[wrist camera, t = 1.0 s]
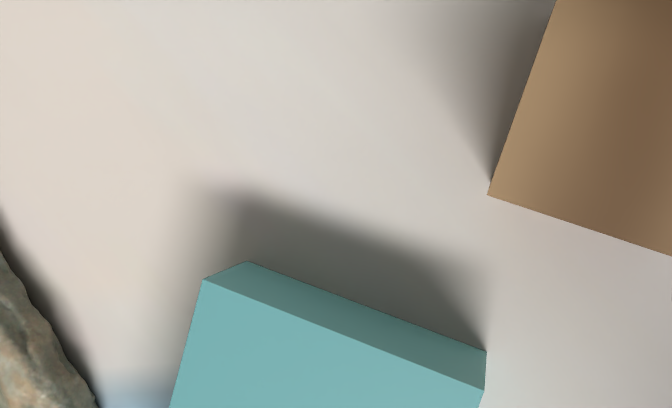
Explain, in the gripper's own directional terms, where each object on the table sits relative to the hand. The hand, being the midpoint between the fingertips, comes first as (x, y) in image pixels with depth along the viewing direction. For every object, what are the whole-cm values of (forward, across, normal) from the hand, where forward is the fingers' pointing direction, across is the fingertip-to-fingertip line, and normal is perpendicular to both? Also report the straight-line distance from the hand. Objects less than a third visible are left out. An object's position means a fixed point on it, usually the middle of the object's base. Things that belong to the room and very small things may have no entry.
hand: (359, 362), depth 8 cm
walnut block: (+11, -10, +3) cm, 15 cm away
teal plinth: (+11, +2, +13) cm, 17 cm away
